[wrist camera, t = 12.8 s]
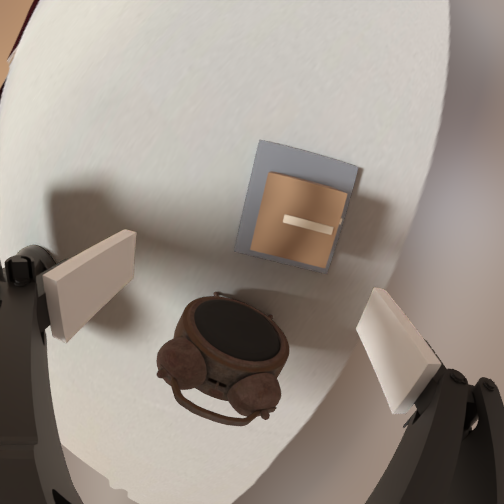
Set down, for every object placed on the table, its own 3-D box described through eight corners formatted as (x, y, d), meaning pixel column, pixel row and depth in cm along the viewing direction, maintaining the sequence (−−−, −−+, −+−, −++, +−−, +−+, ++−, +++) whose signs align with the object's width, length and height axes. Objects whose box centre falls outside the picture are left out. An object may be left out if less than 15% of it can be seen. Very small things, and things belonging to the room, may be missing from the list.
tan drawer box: (257, 231, 36) (249, 250, 28) (271, 171, 33) (268, 172, 25) (316, 246, 35) (325, 269, 28) (333, 187, 33) (348, 193, 25)
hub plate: (235, 249, 38) (227, 264, 32) (259, 140, 33) (256, 135, 27) (325, 271, 38) (333, 289, 32) (356, 166, 33) (371, 167, 27)
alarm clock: (293, 310, 40) (300, 417, 21) (272, 345, 42) (266, 451, 23) (201, 272, 39) (143, 361, 20) (187, 311, 42) (135, 404, 23)
